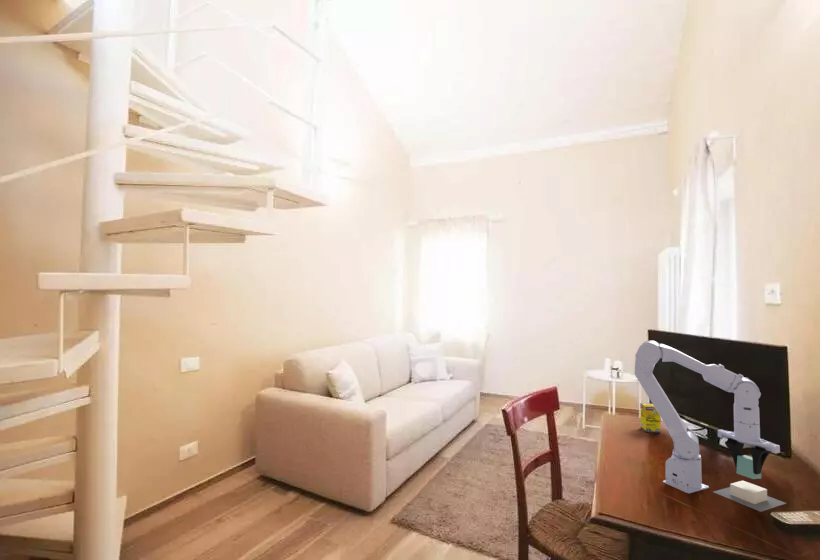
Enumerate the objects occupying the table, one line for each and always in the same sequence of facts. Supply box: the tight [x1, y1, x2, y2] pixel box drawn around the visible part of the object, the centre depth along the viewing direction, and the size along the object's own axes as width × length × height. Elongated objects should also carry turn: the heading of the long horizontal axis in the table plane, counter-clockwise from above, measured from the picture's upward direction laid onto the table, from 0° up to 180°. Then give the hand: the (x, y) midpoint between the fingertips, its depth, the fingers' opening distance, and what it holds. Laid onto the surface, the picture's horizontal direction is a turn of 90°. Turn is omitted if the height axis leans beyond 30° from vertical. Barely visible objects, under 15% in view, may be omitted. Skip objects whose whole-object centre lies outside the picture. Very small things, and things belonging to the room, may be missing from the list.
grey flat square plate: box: [713, 486, 787, 513], centre depth 117 cm, size 12×12×1 cm
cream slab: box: [729, 480, 768, 504], centre depth 117 cm, size 6×6×3 cm
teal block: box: [736, 454, 762, 480], centre depth 118 cm, size 4×4×5 cm
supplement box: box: [639, 402, 661, 434], centre depth 176 cm, size 6×6×11 cm
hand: (747, 470), depth 117 cm, fingers closed on teal block, 4 cm apart
